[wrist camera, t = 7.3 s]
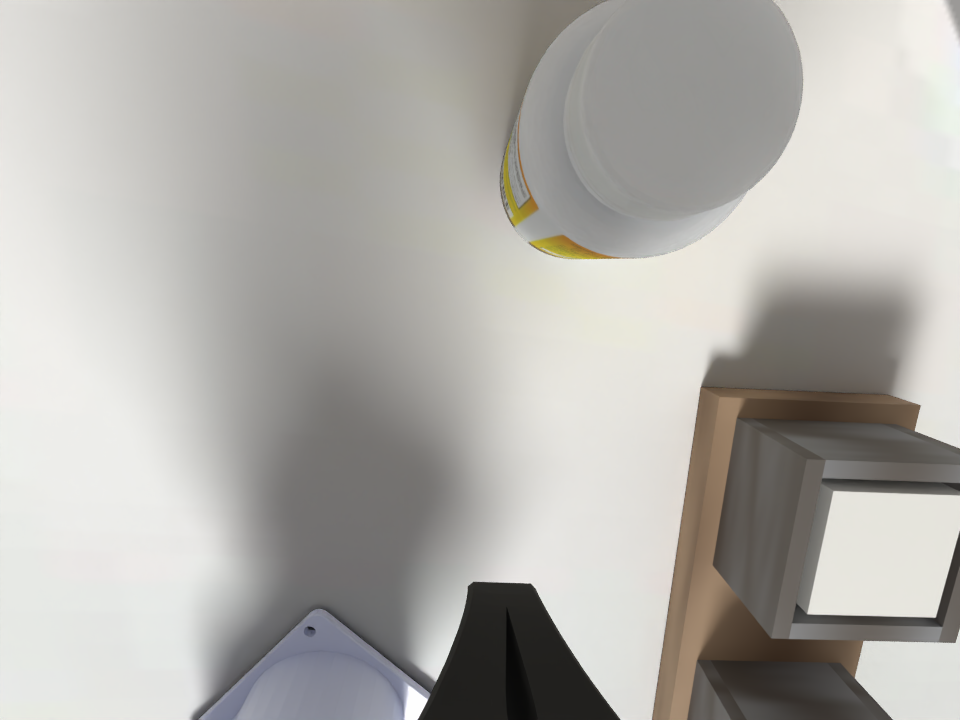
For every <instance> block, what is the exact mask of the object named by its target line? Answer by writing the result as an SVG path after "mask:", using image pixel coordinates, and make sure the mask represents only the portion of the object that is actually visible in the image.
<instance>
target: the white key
mask: <svg viewBox="0 0 960 720" xmlns="http://www.w3.org/2000/svg"><path fill="white" fill-rule="evenodd" d="M959 531H960V491H958V490H956V489H954V488H951V487H949V486H947V485H945V484H943V483H941V482H919V481H891V480H863V479H835V478H822V481H821V486H820V491H819V496H818V500H817V505H816V510H815V515H814V520H813V525H812V529H811V534H810V539H809V544H808V549H807V554H806V558H805V563H804V568H803V573H802V578H801V583H800V587H799V592H798V597H797V602H796V603H797V604H798V605H799V606H800V607H801V608H802V609H803V610H804V611H805V613H806V614H812V615H852V616H892V617H932V618H936V615H937V611H938V608H939V604H940V600H941V597H942V593H943V589H944V586H945V582H946V579H947V575H948V571H949V568H950V564H951V560H952V557H953V553H954V549H955V546H956V542H957V538H958V535H959Z"/></svg>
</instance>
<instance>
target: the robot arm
mask: <svg viewBox="0 0 960 720" xmlns="http://www.w3.org/2000/svg"><path fill="white" fill-rule="evenodd" d="M310 626H311V627H313V628H314V629H315V630H310V629H308V628H307V627H310ZM198 720H620V718H619V717H618V716H617V714H616V713H615V712H614V711H613V709H612V708H611V707H610V705H609V704H608V703H607V701H606V700H605V699H604V697H603V696H602V695H601V693H600V692H599V691H598V689H597V688H596V687H595V685H594V684H593V683H592V681H591V680H590V678H589V677H588V675H587V674H586V673H585V671H584V670H583V668H582V667H581V665H580V664H579V662H578V661H577V659H576V658H575V656H574V655H573V653H572V651H571V650H570V648H569V647H568V645H567V644H566V642H565V641H564V639H563V637H562V636H561V634H560V633H559V631H558V629H557V628H556V626H555V624H554V622H553V621H552V619H551V617H550V616H549V614H548V612H547V610H546V608H545V607H544V605H543V603H542V601H541V599H540V597H539V595H538V593H537V591H536V589H535V588H534V587H533V586H532V584H524V583H493V582H473V583H472V584H470V585H469V586H468V594H467V600H466V605H465V609H464V613H463V616H462V619H461V623H460V626H459V629H458V632H457V634H456V637H455V639H454V642H453V645H452V647H451V650H450V653H449V655H448V658H447V660H446V662H445V665H444V667H443V669H442V671H441V673H440V675H439V677H438V680H437V682H436V684H435V686H434V688H433V690H432V692H431V694H430V693H429V692H428V691H426V690H425V689H424V688H423V687H421V686H420V685H419V684H418V683H416V682H415V681H414V680H413V679H411V678H410V677H409V676H408V675H406V674H405V673H404V672H403V671H401V670H400V669H399V668H397V667H396V666H395V665H394V664H392V663H391V662H390V661H389V660H387V659H386V658H385V657H384V656H382V655H381V654H380V653H379V652H377V651H376V650H375V649H374V648H372V647H371V646H370V645H369V644H367V643H366V642H365V641H363V640H362V639H361V638H360V637H358V636H357V635H356V634H355V633H353V632H352V631H351V630H350V629H348V628H347V627H346V626H345V625H343V624H342V623H341V622H340V621H338V620H337V619H336V618H335V617H333V616H332V615H331V614H329V613H328V612H327V611H325V610H323V609H315V610H313V611H312V612H310V613H309V614H308V615H307V616H306V617H305V618H304V619H303V620H302V621H301V622H300V623H299V624H298V625H297V626H296V627H295V628H294V629H293V630H291V631H290V632H289V633H288V634H287V635H286V636H285V637H284V638H283V639H282V640H281V641H280V642H279V643H278V644H277V645H276V646H275V647H274V648H273V649H272V650H271V651H270V652H268V653H267V654H266V655H265V656H264V657H263V658H262V659H261V660H260V661H259V662H258V663H257V664H256V665H255V666H254V667H253V668H252V669H251V670H250V671H249V672H248V673H246V674H245V675H244V676H243V677H242V678H241V679H240V680H239V681H238V682H237V683H236V684H235V685H234V686H233V687H232V688H231V689H230V690H229V691H228V692H227V693H226V694H225V695H223V696H222V697H221V698H220V699H219V700H218V701H217V702H216V703H215V704H214V705H213V706H212V707H211V708H210V709H209V710H208V711H207V712H206V713H205V714H204V715H203V716H201V717H200V718H199V719H198Z"/></svg>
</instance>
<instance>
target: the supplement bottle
mask: <svg viewBox="0 0 960 720" xmlns="http://www.w3.org/2000/svg"><path fill="white" fill-rule="evenodd" d="M802 91H803V71H802V62H801V57H800V51H799V48H798V45H797V42H796V39H795V36H794V34H793V31H792V29H791V26H790V25H789V23H788V21H787V19H786V18H785V16H784V14H783V12H782V11H781V10H780V9H779V7H778V6H777V5H776V4H775V3H774V2H773V0H608V1H606V2H603V3H601V4H599V5H597V6H595V7H593V8H592V9H590V10H589V11H587V12H585V13H584V14H582V15H581V16H579V17H578V18H577V19H576V20H574V21H573V22H572V23H571V24H569V25H568V26H567V27H566V28H565V29H564V30H563V31H562V32H561V33H560V34H559V35H558V37H557V38H556V39H555V40H554V41H553V43H552V44H551V45H550V46H549V48H548V49H547V51H546V52H545V54H544V55H543V57H542V58H541V60H540V62H539V64H538V66H537V67H536V69H535V71H534V73H533V75H532V77H531V80H530V82H529V84H528V87H527V89H526V92H525V95H524V98H523V101H522V104H521V107H520V110H519V113H518V116H517V119H516V122H515V124H514V127H513V130H512V133H511V136H510V139H509V142H508V145H507V147H506V151H505V154H504V158H503V162H502V166H501V173H500V191H501V198H502V202H503V206H504V209H505V212H506V214H507V216H508V218H509V220H510V222H511V224H512V226H513V227H514V229H515V230H516V231H517V233H518V234H519V235H520V236H521V237H522V238H523V239H524V240H525V241H526V242H527V243H529V244H530V245H531V246H533V247H534V248H536V249H537V250H539V251H541V252H543V253H546V254H548V255H551V256H555V257H559V258H566V259H611V258H647V257H653V256H659V255H664V254H667V253H670V252H674V251H677V250H679V249H682V248H684V247H686V246H688V245H690V244H692V243H694V242H696V241H698V240H699V239H701V238H703V237H704V236H706V235H707V234H708V233H710V232H711V231H712V230H713V229H715V228H716V227H717V226H718V225H719V224H721V223H722V222H723V221H724V220H725V219H726V218H727V217H728V216H729V215H730V214H731V213H732V211H733V210H734V209H735V208H736V207H737V205H738V204H739V203H740V202H741V200H742V199H743V197H744V196H745V194H746V193H747V191H748V190H750V189H751V188H752V187H753V186H755V185H756V184H757V183H758V182H759V181H760V180H761V179H762V178H763V177H764V176H765V175H766V174H767V173H768V172H769V171H770V170H771V168H772V167H773V166H774V165H775V164H776V162H777V161H778V159H779V158H780V156H781V155H782V153H783V151H784V149H785V148H786V146H787V144H788V142H789V140H790V138H791V136H792V133H793V131H794V128H795V125H796V122H797V118H798V115H799V110H800V106H801V101H802Z"/></svg>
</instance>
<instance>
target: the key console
mask: <svg viewBox="0 0 960 720" xmlns="http://www.w3.org/2000/svg"><path fill="white" fill-rule="evenodd" d="M920 406H921V405H918V404H915V403H912V402H908V401H905V400H902V399H899V398H896V397H893V396H890V395H879V394H855V393H832V392H808V391H785V390H761V389H738V388H714V387H701V392H700V399H699V406H698V412H697V419H696V426H695V433H694V440H693V446H692V453H691V460H690V467H689V474H688V480H687V487H686V494H685V501H684V508H683V514H682V521H681V528H680V535H679V542H678V548H677V555H676V562H675V569H674V576H673V582H672V589H671V596H670V603H669V610H668V616H667V623H666V630H665V637H664V644H663V650H662V657H661V664H660V671H659V678H658V684H657V691H656V698H655V705H654V712H653V718H652V720H892V718H891V717H890V716H889V715H888V714H887V713H886V712H885V711H884V710H883V709H882V708H881V707H880V705H879V704H878V703H877V702H876V701H875V700H874V699H873V698H872V697H871V696H870V695H869V694H868V692H867V691H866V690H865V689H864V688H863V687H862V686H861V685H860V684H859V683H858V682H857V681H856V679H855V673H856V669H857V665H858V661H859V657H860V653H861V649H862V645H863V641H900V642H943V643H956V639H957V636H958V632H959V629H960V531H959V535H958V538H957V542H956V546H955V549H954V553H953V557H952V560H951V564H950V568H949V571H948V575H947V579H946V582H945V586H944V589H943V593H942V597H941V600H940V604H939V608H938V611H937V615H936V618H932V617H892V616H852V615H812V614H806V613H805V611H804V610H803V609H802V608H801V607H800V606H799V605H798V604H797V603H796V602H797V597H798V592H799V587H800V583H801V578H802V573H803V568H804V563H805V558H806V554H807V549H808V544H809V539H810V534H811V529H812V525H813V520H814V515H815V510H816V505H817V500H818V496H819V491H820V486H821V481H822V478H835V479H863V480H891V481H919V482H941V483H943V484H945V485H947V486H949V487H951V488H954V489H956V490H958V491H960V449H959V448H956V447H954V446H951V445H949V444H946V443H944V442H941V441H938V440H936V439H933V438H931V437H928V436H925V435H923V434H920V433H918V432H915V426H916V422H917V418H918V414H919V410H920Z"/></svg>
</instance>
